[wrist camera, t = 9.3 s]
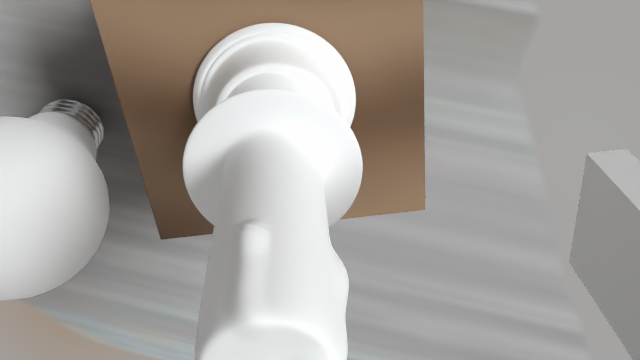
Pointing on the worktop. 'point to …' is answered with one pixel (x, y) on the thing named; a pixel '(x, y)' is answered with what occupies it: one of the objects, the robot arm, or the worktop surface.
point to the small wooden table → (250, 9)
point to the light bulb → (49, 197)
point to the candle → (273, 193)
